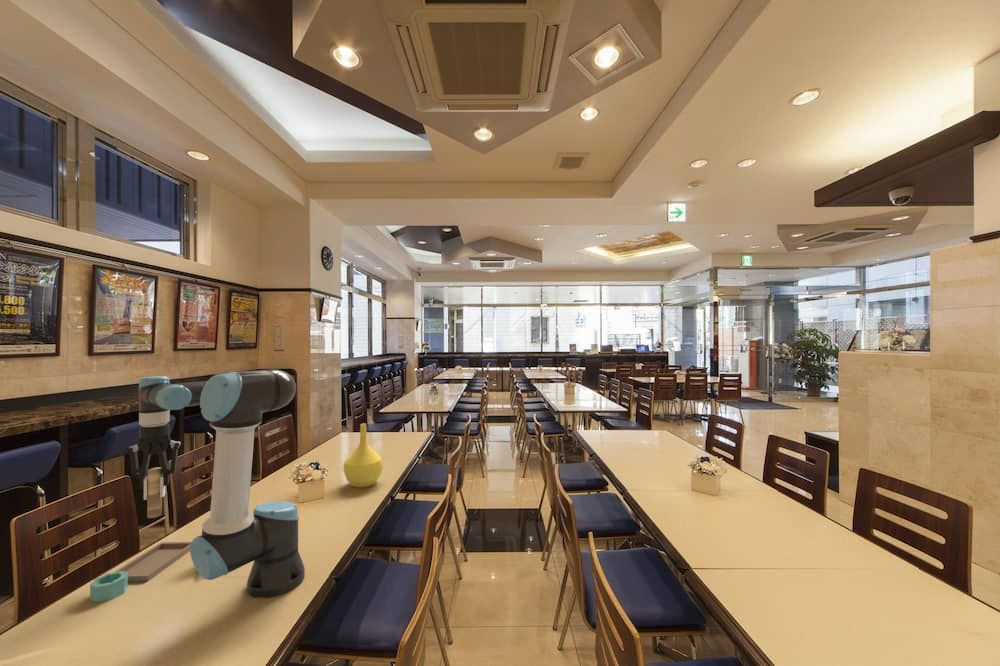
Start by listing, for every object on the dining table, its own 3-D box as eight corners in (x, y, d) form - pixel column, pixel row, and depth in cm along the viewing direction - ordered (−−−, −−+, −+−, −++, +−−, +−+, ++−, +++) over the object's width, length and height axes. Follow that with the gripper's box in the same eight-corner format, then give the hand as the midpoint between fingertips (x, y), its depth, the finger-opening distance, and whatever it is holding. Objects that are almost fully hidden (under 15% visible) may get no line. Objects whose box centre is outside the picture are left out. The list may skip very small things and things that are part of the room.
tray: (147, 583, 121) (147, 575, 121) (106, 584, 120) (106, 576, 120) (196, 548, 141) (196, 541, 141) (161, 549, 140) (161, 542, 140)
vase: (355, 476, 211) (355, 419, 211) (388, 478, 208) (388, 420, 209) (336, 490, 193) (336, 427, 193) (372, 492, 190) (372, 428, 190)
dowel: (160, 516, 130) (160, 470, 130) (145, 519, 128) (145, 471, 128) (163, 512, 133) (163, 466, 133) (149, 514, 131) (149, 468, 131)
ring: (121, 599, 113) (121, 581, 114) (86, 607, 110) (86, 589, 110) (130, 585, 120) (130, 568, 120) (97, 592, 117) (97, 575, 117)
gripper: (188, 419, 138) (188, 488, 138) (125, 424, 130) (125, 497, 130) (183, 423, 131) (183, 496, 131) (116, 429, 124) (116, 506, 123)
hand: (154, 496), depth 131 cm, fingers closed on dowel, 3 cm apart
